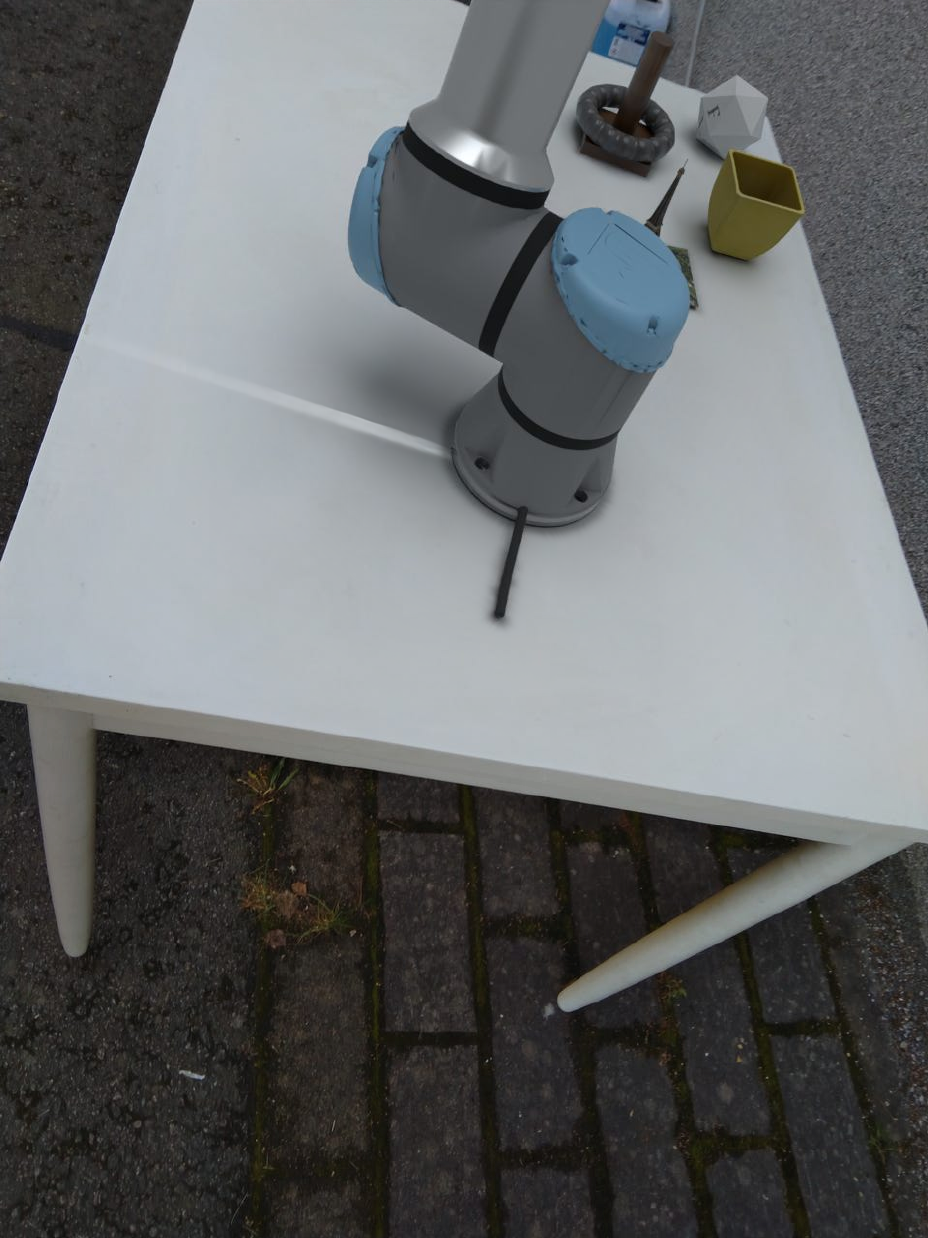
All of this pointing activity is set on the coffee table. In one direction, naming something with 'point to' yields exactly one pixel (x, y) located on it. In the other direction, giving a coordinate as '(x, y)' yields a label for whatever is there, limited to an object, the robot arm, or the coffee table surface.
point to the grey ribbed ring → (616, 139)
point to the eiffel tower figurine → (680, 253)
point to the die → (731, 116)
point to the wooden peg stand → (635, 103)
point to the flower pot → (752, 205)
